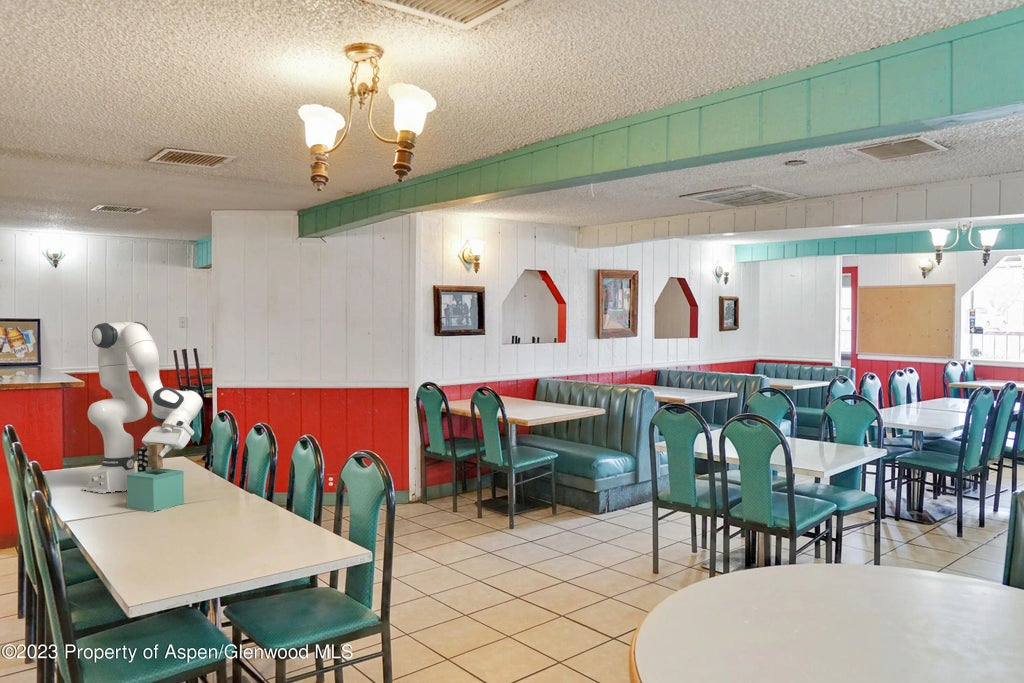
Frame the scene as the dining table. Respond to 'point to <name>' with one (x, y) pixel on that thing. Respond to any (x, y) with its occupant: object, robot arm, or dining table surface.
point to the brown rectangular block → (154, 456)
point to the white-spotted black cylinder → (142, 459)
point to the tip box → (155, 489)
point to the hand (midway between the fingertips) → (153, 455)
